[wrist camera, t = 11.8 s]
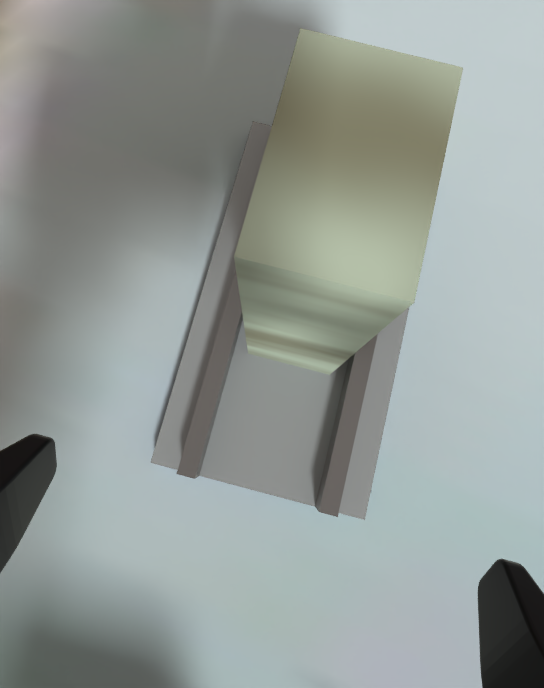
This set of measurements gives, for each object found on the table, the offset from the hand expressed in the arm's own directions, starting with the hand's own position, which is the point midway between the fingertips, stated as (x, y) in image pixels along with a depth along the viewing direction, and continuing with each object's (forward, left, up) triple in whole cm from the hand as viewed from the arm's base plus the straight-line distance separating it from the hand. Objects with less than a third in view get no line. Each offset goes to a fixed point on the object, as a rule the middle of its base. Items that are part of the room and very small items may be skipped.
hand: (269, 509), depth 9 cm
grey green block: (+8, +1, -12) cm, 15 cm away
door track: (+8, +1, -13) cm, 16 cm away
